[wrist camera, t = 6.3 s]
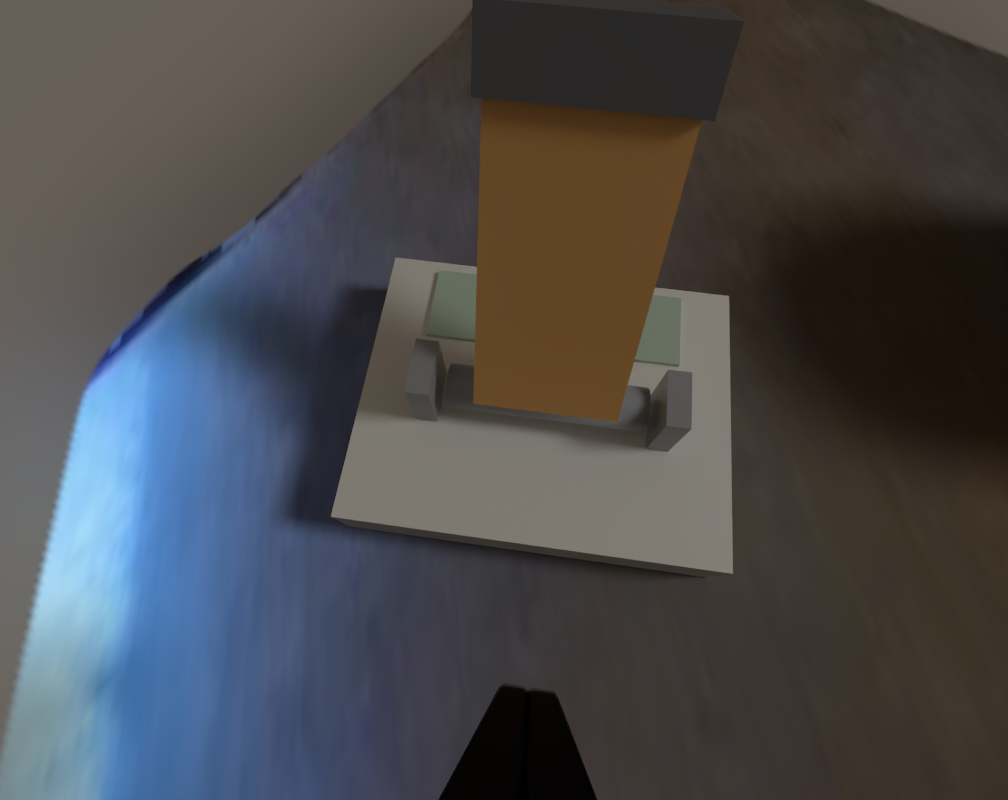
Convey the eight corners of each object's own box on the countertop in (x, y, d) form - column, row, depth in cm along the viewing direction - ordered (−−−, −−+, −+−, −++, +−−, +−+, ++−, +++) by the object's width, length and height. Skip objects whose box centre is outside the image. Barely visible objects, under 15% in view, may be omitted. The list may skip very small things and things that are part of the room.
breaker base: (706, 577, 21) (769, 568, 16) (349, 526, 21) (303, 502, 16) (707, 325, 25) (757, 256, 20) (406, 289, 25) (382, 214, 20)
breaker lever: (641, 448, 19) (785, 25, 11) (443, 422, 19) (433, -7, 11) (637, 405, 20) (759, 10, 12) (455, 382, 21) (454, -16, 13)
